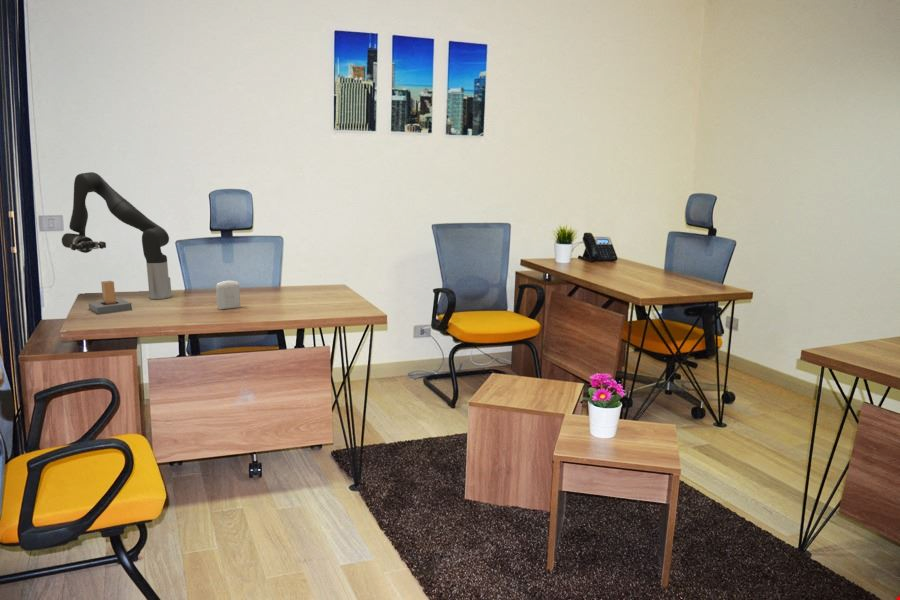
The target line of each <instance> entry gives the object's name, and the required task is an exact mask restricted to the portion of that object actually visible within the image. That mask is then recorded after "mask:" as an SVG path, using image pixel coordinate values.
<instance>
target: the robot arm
mask: <svg viewBox="0 0 900 600" xmlns="http://www.w3.org/2000/svg"><path fill="white" fill-rule="evenodd" d="M73 181H74V183H73V199H72V200H73V205H72V213H71V217H70V221H69V229H70V230H71V231H73V232H75V233H70V232H69V233H68V232H67V233H64V234H63V235H62V237H61V244H62V246H63V247H65V248H67V249H70V250H72V251H78V252H81V253H83V254H86V253H90V252H92V251H93V250H99V249H102V250H103V249H106V248H107V243H106V242H105V241H102V240H100V241H99V242H98V241H93V239H92V238H91V237H89V236H86V228H87V223H88V219H89V213H88V212H89V211H88V208H87V206H86V199H87V197H88V194H89V193H96V194H97V195H98V196H100V197H101V198H102V199H103V200H104V201H105V203H106V206H107V208H108V210H109V212H110V213H111V215H113V216H114V217H115V218H117V219H118V220H119V221H120V222H122V223H124V224H125V225H128V226H129V227H132V228H135V229H137V230H139V231H140V232H142V235H141V244H142V252H143V256H144V258H145V262H146V272H147V283H148V296H149V299H151V300H164V299H168V298H173V297H172V295H173V294H172V285H171V277H169V276H170V275H169V267H168V257H167V255H166V254H164V253H162V249H161V247H162V248H163V247H165V246H166V245H168V244H169V241H170V236H169V234H168V232H167V231H166V230H165V228H163V227H161V225H158V224H157V223H156V222H154V221H152V219H149V218H148V217H147V216H146V215H145V214H144V213H142V212H141V211H140V210H139V209H137V208H136V207H135V206H134V205H133V204H132V203H131V202H129V201H128V200H127V199H125V198H124V197H123V196H122V195H121V194H119V193H118V192H117V191H116V190H115V189H113V187H112V186H110V184H108V182H107V181H105V179H104V178H103V177H102V176H101V175H99V173H96V172H93V171H91V172H89V171H88V172H81V173H78V174H77V175H76V176H75V178H74V180H73Z"/></svg>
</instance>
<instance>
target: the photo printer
mask: <svg viewBox="0 0 900 600" xmlns="http://www.w3.org/2000/svg"><path fill="white" fill-rule="evenodd" d="M240 291H241V290H240V283H239V282H238V281H236V280H223V281H220V282H218V283H216V285H215V292H216V293H215V294H216V309H217V310H219V311H220V310H228V309H237V308H241V294H240V293H241V292H240Z"/></svg>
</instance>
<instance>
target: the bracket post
mask: <svg viewBox="0 0 900 600" xmlns="http://www.w3.org/2000/svg"><path fill="white" fill-rule="evenodd" d="M100 283H101V293H102V294H101V295H102V301H103V304H104V305H110V304H116V299H117V298H116V293H115V292H116V291H115V282H114V281H113V280H106V281H101V282H100Z"/></svg>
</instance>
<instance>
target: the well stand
mask: <svg viewBox="0 0 900 600" xmlns="http://www.w3.org/2000/svg"><path fill="white" fill-rule="evenodd" d="M115 299H116V304H110V305H104V304H103V300H99V301H91V302H88V303H87V304H88V310H89V311H91V312H93V313H94V314H96V315H103V314H112V313H113V314H114V313H120V312H127V311H132V310H133V309H132V308H133V307H132V303H131V302H130V301H128V300H126V299H123V298H115Z"/></svg>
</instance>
